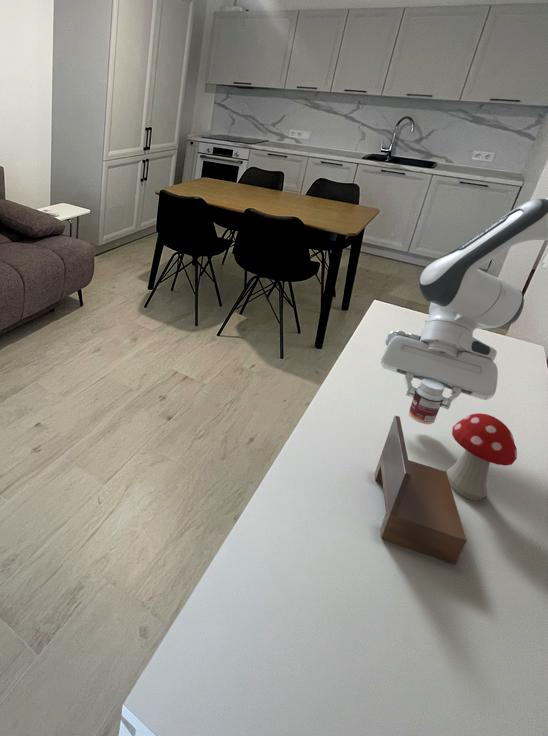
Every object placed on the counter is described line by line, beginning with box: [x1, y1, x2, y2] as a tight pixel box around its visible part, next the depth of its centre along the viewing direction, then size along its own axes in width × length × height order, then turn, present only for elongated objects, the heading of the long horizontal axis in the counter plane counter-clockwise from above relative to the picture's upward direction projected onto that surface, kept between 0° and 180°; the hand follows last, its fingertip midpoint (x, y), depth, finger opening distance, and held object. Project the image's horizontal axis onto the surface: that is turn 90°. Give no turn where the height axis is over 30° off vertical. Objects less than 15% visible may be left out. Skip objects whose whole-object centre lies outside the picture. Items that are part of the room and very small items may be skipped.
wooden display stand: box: [374, 415, 468, 566], centre depth 80 cm, size 10×16×13 cm, turn 155°
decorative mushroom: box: [446, 412, 518, 501], centre depth 87 cm, size 10×9×15 cm
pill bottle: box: [408, 379, 445, 425], centre depth 103 cm, size 5×5×8 cm
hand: (427, 401), depth 102 cm, fingers closed on pill bottle, 5 cm apart
